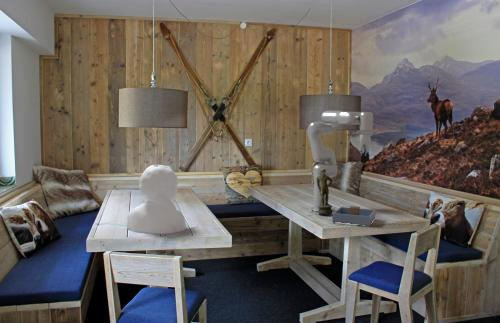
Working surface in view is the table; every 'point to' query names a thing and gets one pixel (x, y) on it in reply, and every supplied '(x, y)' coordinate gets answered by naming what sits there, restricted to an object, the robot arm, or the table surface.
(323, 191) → the statue
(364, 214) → the slate bin
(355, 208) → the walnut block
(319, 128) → the robot arm
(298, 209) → the table surface
